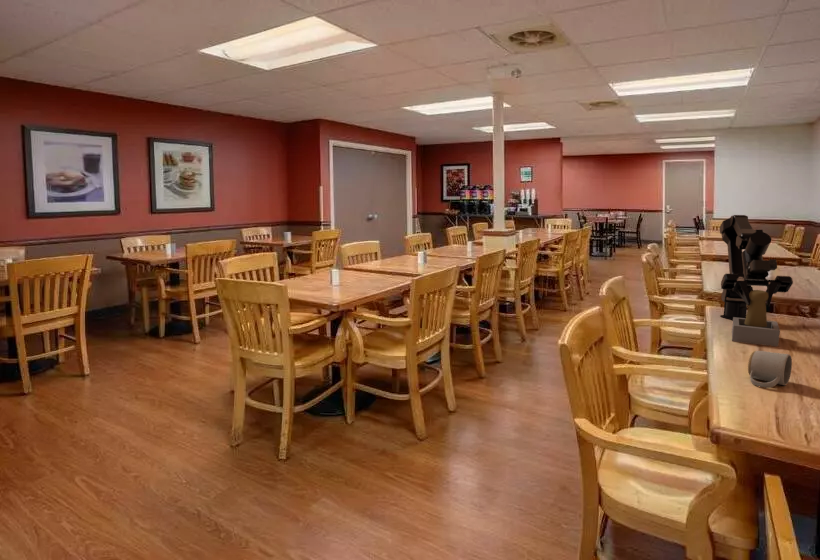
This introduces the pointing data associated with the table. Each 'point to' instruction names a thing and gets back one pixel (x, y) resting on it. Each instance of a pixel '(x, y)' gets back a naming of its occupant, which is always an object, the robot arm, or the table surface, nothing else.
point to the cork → (757, 309)
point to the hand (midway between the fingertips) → (758, 305)
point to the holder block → (755, 333)
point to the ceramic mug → (769, 368)
